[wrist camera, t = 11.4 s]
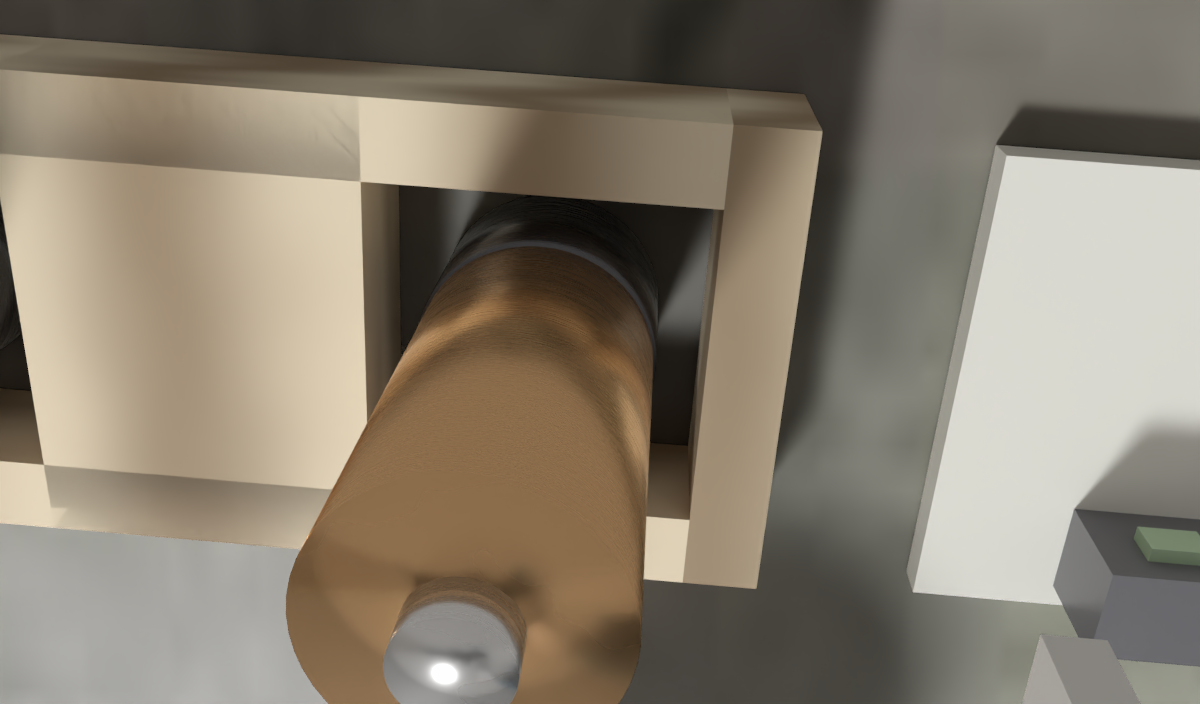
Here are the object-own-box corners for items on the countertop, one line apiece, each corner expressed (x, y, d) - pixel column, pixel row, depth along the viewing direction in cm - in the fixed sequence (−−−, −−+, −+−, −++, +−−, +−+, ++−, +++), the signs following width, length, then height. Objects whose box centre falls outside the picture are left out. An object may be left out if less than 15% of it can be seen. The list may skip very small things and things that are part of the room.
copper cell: (667, 204, 23) (659, 528, 12) (649, 401, 25) (628, 831, 14) (446, 186, 23) (247, 492, 12) (445, 385, 25) (271, 798, 14)
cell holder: (804, 94, 22) (822, 131, 19) (748, 509, 26) (756, 589, 23) (-329, 9, 23) (-466, 34, 20) (-216, 427, 27) (-318, 495, 24)
